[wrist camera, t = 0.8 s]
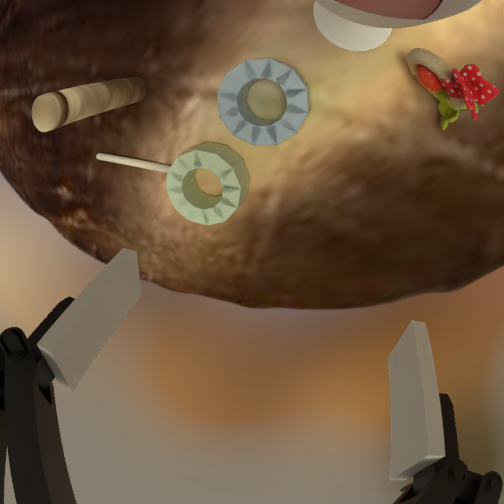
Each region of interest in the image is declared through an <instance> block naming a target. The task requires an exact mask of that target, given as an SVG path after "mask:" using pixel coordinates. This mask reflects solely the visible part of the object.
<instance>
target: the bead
mask: <svg viewBox="0 0 504 504" xmlns="http://www.w3.org/2000/svg"><path fill="white" fill-rule="evenodd" d="M196 168H202V169H207V170H210V171H211V172H212V173H213V174H215V175H216V176H217V177H218V178H219V180H220V182H221V185H222V187H223V193H222V195H221V196H217V197H215V196H211V195H207V194H205V193H204V192H203V191H202V190H201V189H199V188H198V185H197V183H196V181H195V169H196ZM249 178H250V176H249V174H248V171H247V168H246V166H245V163H244V160H243V158H241V157H240V156H239V155H238V154H237V153H236V152H234V151H233V150H232V149H231V148H230V147H229V146H227V145H222V144H217V143H212V142H207V143H204V144H201V145H198V146H196V147H193V148H191V149H189V150H187V151H186V152H184V153H183V154H181V155H179V156H178V157H177V158H176V160H175V161H174V163H173V164H172V165H171V167H170V168H169V170H168V171H167V183H166V191H167V193H168V195H169V198H170V200H171V202H172V204H173V206H174V208H175V209H176V210H177V211H178V212H180V213H181V214H182V215H183V216H184V217H185V218H187V219H188V220H189V221H193V222H196V223H200V224H204V225H207V226H208V225H212V224H216V223H220V222H224V221H226V220H227V219H228V218H229V217H230V216H231V215H232V214H233V212H234V211H235V210H236V209H237V208H238V207H239V206H240V204H241V203H242V201H243V200H244V198H245V197H246V195H247V189H248V184H249Z"/></svg>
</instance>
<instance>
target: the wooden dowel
mask: <svg viewBox="0 0 504 504" xmlns="http://www.w3.org/2000/svg"><path fill="white" fill-rule="evenodd" d="M147 91H148V87H147V83H146V81H145V80H144V79H143V78H141V77H138V76H136V77H129V78H122V79H115V80H109V81H103V82H97V83H92V84H87V85H82V86H77V87H73V88H68V89H64V90H60V91H54V92H50V93H46V94H44V95H41V96H39V97H37V98H36V100H35V101H34V104H33V107H32V118H33V122H34V124H35V126H36V128H37V129H38V130H40V131H42V132H47V131H50V130H54V129H56V128H59V127H61V126H63V125H65V124H68V123H71V122H74V121H77V120H80V119H83V118H86V117H89V116H92V115H95V114H98V113H101V112H104V111H108V110H111V109H115V108H118V107H122V106H125V105H129V104H133V103H136V102H140V101H142V100H143V99H144V98H145V97H146V95H147Z"/></svg>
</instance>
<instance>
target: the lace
mask: <svg viewBox="0 0 504 504" xmlns="http://www.w3.org/2000/svg"><path fill="white" fill-rule="evenodd" d="M96 157H97V159H99V160H104V161H109V162H115V163H120V164H125V165H130V166H135V167H140V168H145V169H150V170H155V171H160V172H164V173H167V171H168V170H169V168H170V167H171V166H169V165H164V164H159V163H154V162H149V161H143V160H138V159H133V158H127V157H122V156H116V155H110V154H104V153H98V154H97V156H96Z"/></svg>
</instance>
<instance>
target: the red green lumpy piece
mask: <svg viewBox="0 0 504 504" xmlns="http://www.w3.org/2000/svg"><path fill="white" fill-rule="evenodd" d="M407 64H408V67H409V68H410V74H411V75H412V76H413V77H414V78H415V79H417V80H418V81H419V82H420V83H421V85H422V86H423V87H424V88H425V89H426V90H428V91H429V92H430V93H431V94H432V95H433V96H434V97H436V98H437V100H438V101H440V102H439V104H438V108H439V111H440V113H441V114H442V115H443V120H442V122H441V124H440V125H441V127H442V129H443V130H445V129H446V127H447V125H448V123H449V122H450V123H451V122H453V121H455V120H456V119H457V118H458V116H459V109H469V110H471V113H472V117H473V118H474V119H477V118H478V113H477V112H478V107H477V105H476V103H478V104H479V105H482V106H483V105H484V104H485V103H486V102H487V101H489V100H490V99H492V98H494V97H495V96H497V94H498V93H499V91H498V89H497V88H496V87H495V86H493V85H492V84H491V83H489V82H488V81H486V80H484V79H483V77H482V76H481V72H480V70H479V68H478V67H477V66H475V65H474V64H471V65H466V66H464V68H463V69H462V70H461V71H460V73H459V72H458V70H456V69H455V68H454V69H452V68H451V67H450V66H449V65H448V64H447V63H445V62H444V61H443V60H442V59H440V58H439V57H438V56H436V55H435V54H433V53H431V52H429V51H427V50H424V49H420V48H416V49H413V50H412V51H410V52H409V54H408V55H407Z"/></svg>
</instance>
